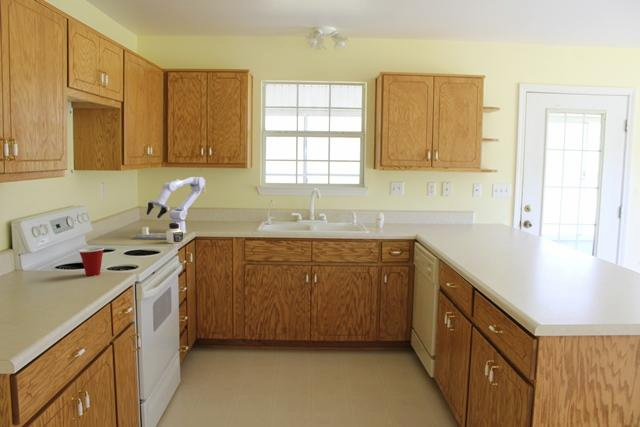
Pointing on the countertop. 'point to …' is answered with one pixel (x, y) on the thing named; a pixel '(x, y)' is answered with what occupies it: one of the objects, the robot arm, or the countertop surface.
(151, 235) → the console
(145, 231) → the fader
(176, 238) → the medicine bottle
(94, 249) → the plastic cup
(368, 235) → the countertop surface
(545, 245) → the countertop surface
